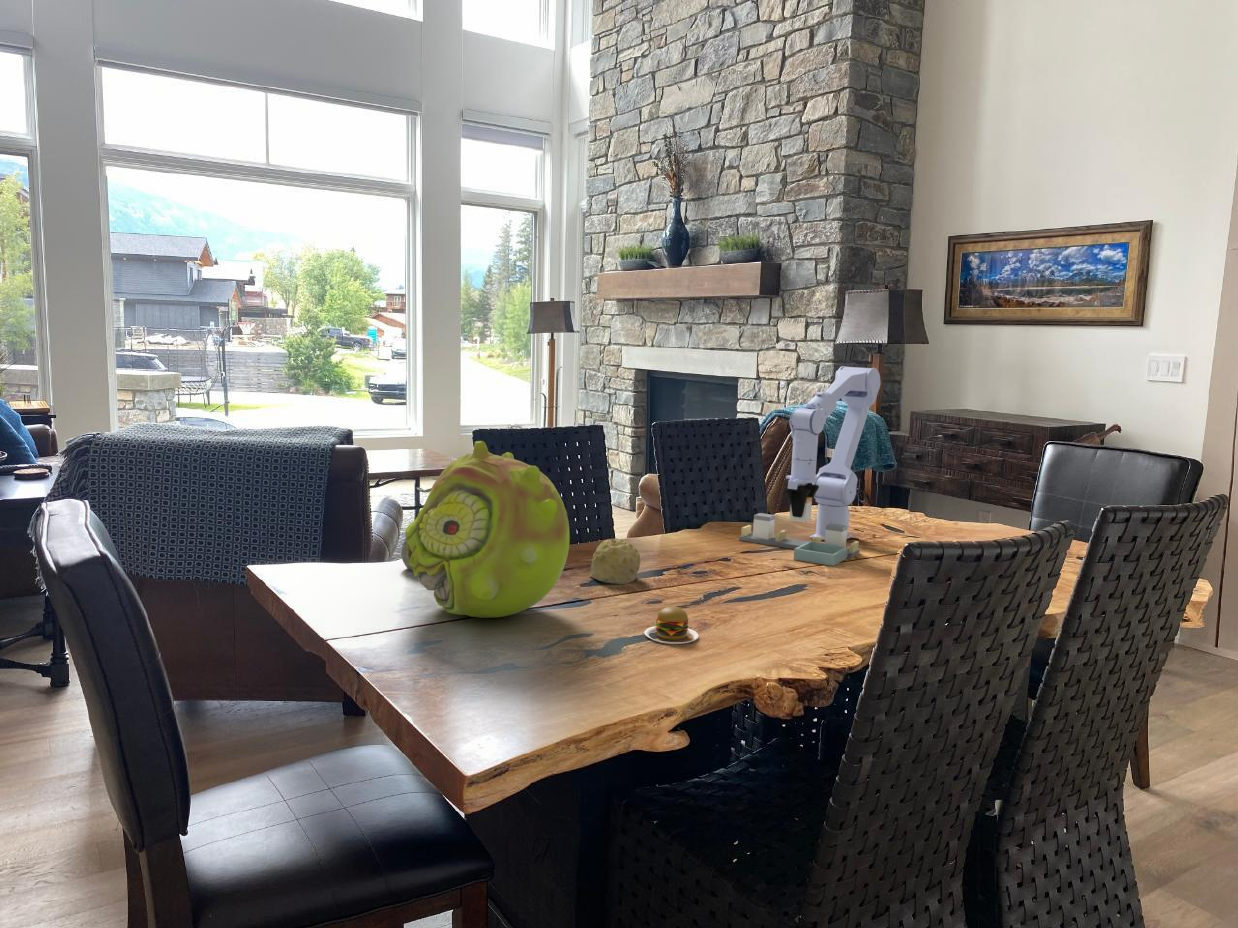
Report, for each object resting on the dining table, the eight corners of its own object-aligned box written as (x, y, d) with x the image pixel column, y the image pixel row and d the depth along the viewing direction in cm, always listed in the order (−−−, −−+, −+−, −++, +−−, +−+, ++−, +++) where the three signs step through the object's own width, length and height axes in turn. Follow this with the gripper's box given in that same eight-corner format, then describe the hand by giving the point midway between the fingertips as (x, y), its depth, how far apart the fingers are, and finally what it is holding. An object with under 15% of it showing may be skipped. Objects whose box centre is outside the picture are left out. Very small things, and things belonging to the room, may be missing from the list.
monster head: (392, 594, 173) (394, 430, 169) (538, 586, 183) (544, 430, 178) (418, 648, 144) (421, 452, 140) (590, 635, 154) (598, 452, 150)
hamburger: (650, 654, 148) (652, 620, 147) (624, 631, 159) (625, 599, 159) (720, 649, 152) (722, 616, 151) (690, 626, 163) (691, 595, 163)
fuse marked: (794, 517, 229) (796, 495, 229) (810, 519, 227) (812, 497, 227) (789, 519, 226) (790, 497, 226) (805, 522, 224) (807, 499, 224)
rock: (630, 589, 196) (617, 544, 199) (654, 574, 187) (640, 527, 190) (589, 598, 192) (576, 551, 194) (611, 583, 182) (597, 534, 185)
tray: (808, 551, 223) (809, 541, 222) (847, 557, 218) (848, 547, 218) (793, 559, 214) (794, 548, 214) (833, 566, 210) (834, 555, 209)
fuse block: (749, 536, 237) (749, 524, 237) (859, 553, 223) (860, 540, 223) (738, 540, 232) (739, 528, 232) (851, 558, 218) (852, 545, 218)
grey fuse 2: (829, 545, 226) (830, 523, 225) (845, 548, 224) (847, 525, 223) (824, 548, 223) (825, 525, 222) (840, 550, 221) (842, 527, 220)
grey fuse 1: (758, 534, 235) (759, 512, 234) (773, 537, 233) (775, 515, 232) (752, 537, 232) (754, 515, 231) (768, 539, 230) (769, 517, 229)
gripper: (798, 454, 233) (795, 509, 235) (777, 460, 221) (773, 517, 222) (826, 457, 229) (822, 512, 231) (806, 463, 217) (802, 521, 219)
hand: (800, 515), depth 227 cm, fingers closed on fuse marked, 4 cm apart
